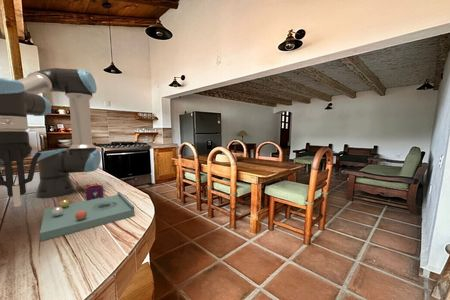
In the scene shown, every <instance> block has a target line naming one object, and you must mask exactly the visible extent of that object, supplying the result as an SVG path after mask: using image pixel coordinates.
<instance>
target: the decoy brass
mask: <svg viewBox="0 0 450 300" xmlns="http://www.w3.org/2000/svg"><path fill="white" fill-rule="evenodd" d="M69 204H71V202H70V200H69V199H64V198H63V199H62V200H60V201H59V203H58V205H59V206H60V207H62V208H66V207H68V206H69Z"/></svg>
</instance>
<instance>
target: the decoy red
mask: <svg viewBox="0 0 450 300" xmlns="http://www.w3.org/2000/svg"><path fill="white" fill-rule="evenodd" d="M86 216H87V212H86V211H85V210H79V211H78V212H77V213H76V214H75V218H76V219H78V220H82V219H84V218H85V217H86Z"/></svg>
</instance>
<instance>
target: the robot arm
mask: <svg viewBox="0 0 450 300" xmlns="http://www.w3.org/2000/svg"><path fill="white" fill-rule="evenodd" d="M51 92H55V93H56V92H58V93H64V95H65V96H66V97H67V98H68V100H69V101H68V102H69V113H70V115H69V116H70V127H71V140H72V141H71V142H72V145H70V146H69V147H68V149H67V148H59V149H58V148H57V149H52V150H45V151H36V150H35V149H33V147H32V145H30V136H29V135H30V134H29V132H28V131H27V130H29V127H28V126H29V122H28V116H34V117H43V116H47V115H48V114H49V113H50V112H51V111H52V107H53V106H52V103H51V102H50V100H49V99H48V98H47V97H44V96H41V95H40V94H47V93H51ZM96 93H97V84H96V80H95V78H94V76H93V74H92V73H91V72H90V71H89V70H86V69H80V68H60V67H52V68H51V67H50V68H44V69H40V70H35V71H33V72H30V73H29V74H27V76H26V77H22V78H19V79H12V78H5V77H0V160H1V161H2V162H3V166H4V173H5V179H4V177H3V174H2V172H0V186H3V187H6V191H7V196H8V197H10V198H11V197H12V201H13V207H14V208H16V207H21V206H22V204H23V199H22V198H23V197H22V195H25V194H26V193H27V189H26V188H27V187H26V185H27V183H31V182H32V181H33V180H34V176H35V172H36V166H38V172H39V173H38V174H39V184H38V186H37V189H36V197H37V198H41V199H42V198H45V199H46V198H53V197H59V196H64V195H68V194H71V193H73V192H75V185H74V183H73V181H72V179H71V178H70V174H73V173H74V174H75V173H76V174H77V173H91V172H95V171H97V170H98V169H99V167H100V165H101V162H102V161H101V160H102V154H101V151H100V150H97V147H96V146H95V145H94V144H93V135H92V134H93V133H92V122H91V121H92V120H91V119H92V118H91V107H90V104H91V103H90V102H91V101H90V100H91V99H92V98H93V94H96ZM68 150H69V151H68ZM29 154H30V156H31V157H32V158H31V161H30V165H29V168H28V169H29V170H28V174H27V178H26V175H25V165H24V159H26V157H27V156H29ZM13 161H15V163H16V171H17V179H18V180H17V181H18V184H15V182H14V173H13ZM37 164H38V165H37Z"/></svg>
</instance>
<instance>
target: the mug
mask: <svg viewBox="0 0 450 300" xmlns="http://www.w3.org/2000/svg"><path fill="white" fill-rule="evenodd" d="M84 191H85V198H86V199H85V201H88V200H93V199H98V198H104V197H105V195H104V186H103V185H101V184H96V185H90V186H86V187H85V190H84Z"/></svg>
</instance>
